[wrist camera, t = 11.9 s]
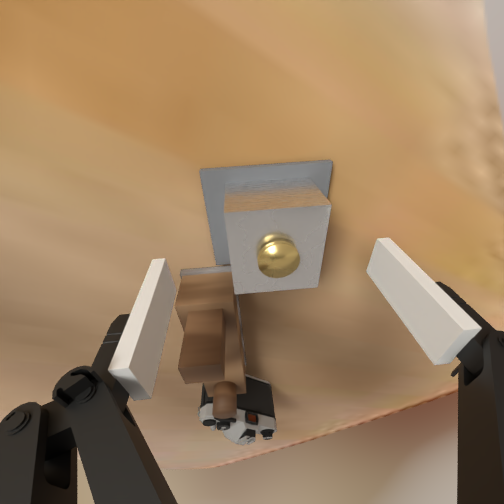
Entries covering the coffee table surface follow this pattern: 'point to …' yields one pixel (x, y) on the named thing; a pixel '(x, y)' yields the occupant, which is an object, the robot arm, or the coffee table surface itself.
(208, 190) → the felt mat
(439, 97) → the coffee table surface
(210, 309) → the plane body
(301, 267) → the grey gold knob block
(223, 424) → the camera
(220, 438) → the coffee table surface
